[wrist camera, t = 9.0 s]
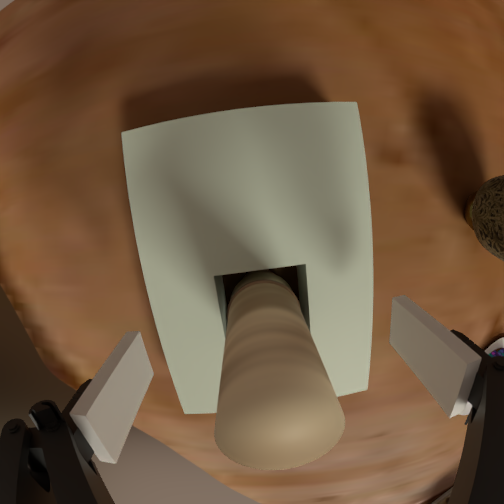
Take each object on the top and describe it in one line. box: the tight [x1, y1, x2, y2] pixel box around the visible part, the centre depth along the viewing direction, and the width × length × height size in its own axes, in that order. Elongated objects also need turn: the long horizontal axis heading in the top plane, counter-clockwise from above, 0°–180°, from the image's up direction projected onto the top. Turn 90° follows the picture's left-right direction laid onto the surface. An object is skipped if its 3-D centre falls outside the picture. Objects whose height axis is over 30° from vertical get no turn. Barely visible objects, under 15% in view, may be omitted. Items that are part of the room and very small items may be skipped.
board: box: [121, 102, 373, 414], centre depth 19 cm, size 20×14×4 cm
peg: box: [214, 270, 345, 470], centre depth 15 cm, size 4×4×14 cm
